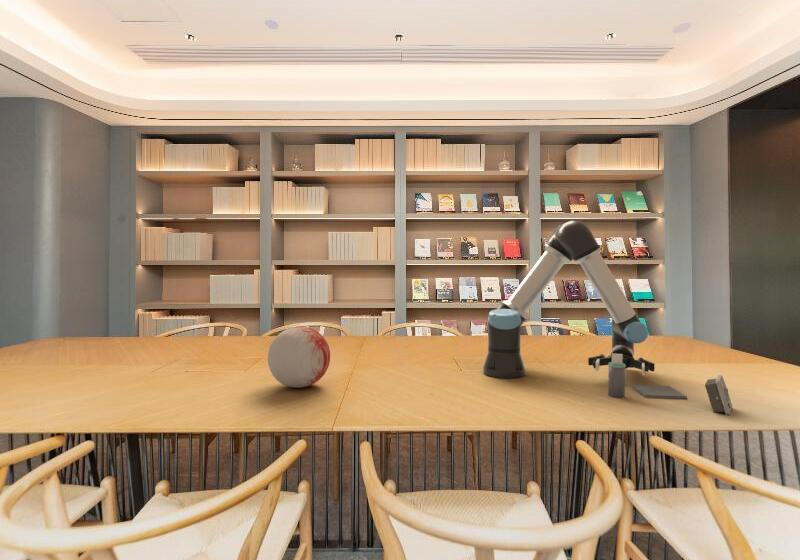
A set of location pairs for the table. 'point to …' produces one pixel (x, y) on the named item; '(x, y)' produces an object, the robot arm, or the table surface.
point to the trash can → (616, 377)
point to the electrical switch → (718, 395)
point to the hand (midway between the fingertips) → (619, 369)
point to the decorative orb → (298, 357)
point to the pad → (658, 391)
